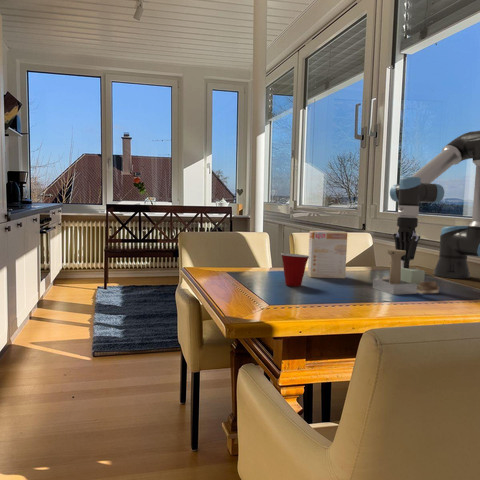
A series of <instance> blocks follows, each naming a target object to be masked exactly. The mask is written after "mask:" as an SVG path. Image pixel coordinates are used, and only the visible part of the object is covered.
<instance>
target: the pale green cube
mask: <svg viewBox="0 0 480 480" xmlns="http://www.w3.org/2000/svg"><path fill="white" fill-rule="evenodd" d="M425 273H426V271H425V270H424V269H420V268H414V267H409V268H401V279H400V280H403V281H407V282H411V283H415V284H417V285H418V286H420V282H425V275H426V274H425Z"/></svg>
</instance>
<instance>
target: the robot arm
mask: <svg viewBox="0 0 480 480" xmlns="http://www.w3.org/2000/svg"><path fill="white" fill-rule="evenodd" d="M466 160H472V164H474V166H476V167H475V176H474V190H473V204H472V215H471V217H472V218H471V222H469V224H467V225H450V226H448V225H447V226H444V227H442V228H441V230H440V234H439V235H440V239H439V256H438V259H437V263H436V265H435V267H434V269H433V276H435V277H436V276H437V277H441V278H448V279H459V280H460V279H470V278H471V271H470V270H469V264H468V257H469V256H470V257H477V258H480V130H475V131H474V130H473V131H468V132H464V133H462V134H461V135H458V136H457V137H455V138H454V139H453V140H451V141H450V142H448V143H447V144H446V145H444V147H442V149H441V152H440V153H439V154H437V155H436V156H435V157H433V158H432V159H431V160H430V161H429V162H427V163H426V164H425V165H424V166H422V167H420V168H419V170H417V171H416V172H414V173H413V174H412V175H411V176H402V177H401V178H400V181H399V183H396V184H393V185H392V186H391V187H390V189H389V196H390V199H391V200H392V201H393V202H398V207H397V215H398V217H397V218H396V226H397V227H398V229H397V232H396V233H393V239H394V245H395V250H404V251H406V254H405V255H404V256H402V257H401V268H410V261H412V260H414V259H415V255H416V251H417V248H418V244H419V241H420V239H421V236H420V235H417V230H416V228H417V227H418V226H419V225H418V224H419V218H417V217H419V212H420V211H419V210H420V208H419V207H420V203H427V204H428V203H430V204H435V203H439V202H441V201H442V200H443V199H444V196H445V189H444V187H443V186H442V185H441V184H437V183H433V182H434V181H435V180H436V179H438V178H439V177H440V176H441V175H442V174H444V173H445V172H446V171H448V170H449V169H450V168H452V166H454V165H455V166H456V165H459V164H460V163H461V162H463V161H466Z"/></svg>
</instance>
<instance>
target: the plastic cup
mask: <svg viewBox="0 0 480 480" xmlns="http://www.w3.org/2000/svg"><path fill="white" fill-rule="evenodd" d="M280 255H281V259H282V266H283V275H284V282H285V286H287V287H301V286H302V283H303V280H304V279H303V278H304V275H305V270H306V266H307V264H308V258H309V255H307V254H306V255H305V254H297V253H283V252H282V253H280Z"/></svg>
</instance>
